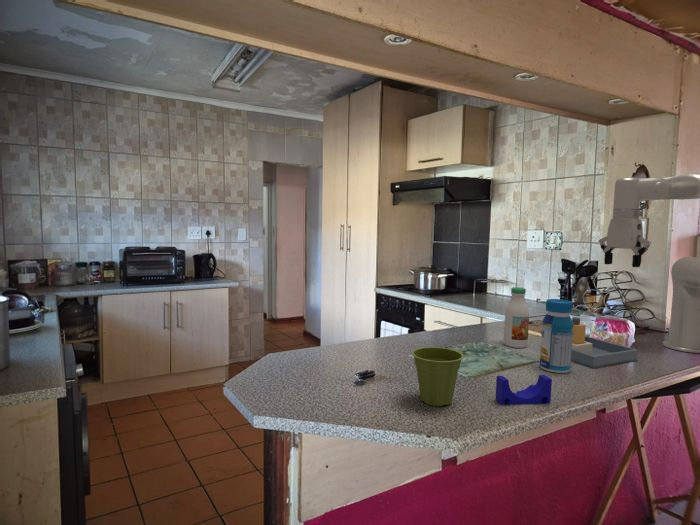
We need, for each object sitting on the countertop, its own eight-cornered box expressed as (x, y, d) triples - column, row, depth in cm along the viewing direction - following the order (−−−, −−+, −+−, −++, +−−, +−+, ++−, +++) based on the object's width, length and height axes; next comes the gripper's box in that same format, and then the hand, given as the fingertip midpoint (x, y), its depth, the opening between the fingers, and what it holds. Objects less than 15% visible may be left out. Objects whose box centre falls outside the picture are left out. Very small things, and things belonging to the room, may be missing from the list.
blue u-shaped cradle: (539, 396, 107) (541, 372, 106) (550, 404, 102) (551, 379, 102) (492, 397, 105) (493, 373, 105) (501, 405, 101) (502, 380, 100)
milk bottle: (501, 346, 150) (504, 288, 148) (505, 341, 156) (508, 285, 155) (526, 349, 146) (529, 290, 144) (528, 344, 153) (531, 287, 151)
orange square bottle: (572, 352, 142) (575, 316, 140) (583, 356, 138) (586, 318, 137) (563, 354, 140) (566, 317, 139) (574, 357, 136) (577, 319, 135)
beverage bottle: (563, 376, 121) (568, 304, 119) (533, 368, 127) (537, 300, 126) (575, 369, 127) (580, 301, 125) (546, 362, 133) (550, 297, 131)
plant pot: (454, 391, 108) (456, 346, 107) (468, 411, 97) (470, 362, 96) (406, 390, 108) (408, 345, 107) (414, 411, 96) (416, 361, 95)
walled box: (584, 345, 153) (585, 331, 152) (636, 360, 136) (638, 345, 136) (542, 351, 144) (543, 336, 144) (593, 368, 128) (594, 351, 128)
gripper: (659, 215, 142) (655, 267, 143) (608, 215, 157) (605, 263, 159) (644, 214, 138) (640, 268, 140) (594, 214, 154) (591, 263, 156)
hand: (621, 265), depth 149 cm, fingers open, 9 cm apart
